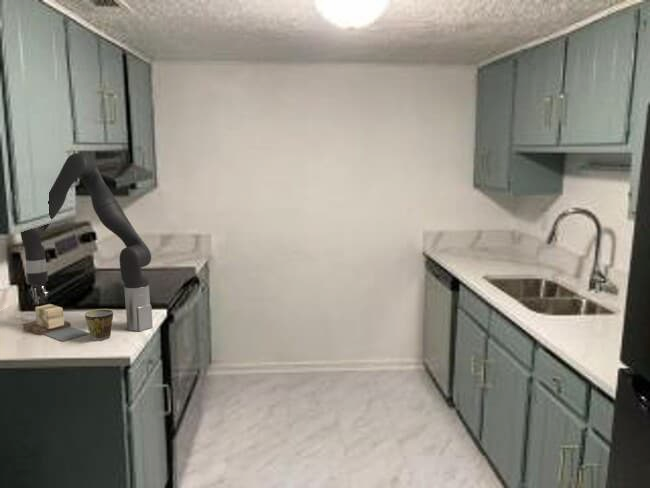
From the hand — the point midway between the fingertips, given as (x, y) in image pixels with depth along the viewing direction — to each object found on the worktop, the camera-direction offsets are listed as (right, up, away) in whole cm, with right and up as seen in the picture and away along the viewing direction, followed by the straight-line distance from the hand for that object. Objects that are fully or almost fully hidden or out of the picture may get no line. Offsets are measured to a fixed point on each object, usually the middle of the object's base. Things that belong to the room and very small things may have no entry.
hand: (40, 312), depth 223 cm
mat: (+15, -7, -10) cm, 19 cm away
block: (+6, -4, -4) cm, 8 cm away
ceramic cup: (+31, -8, -16) cm, 35 cm away
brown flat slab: (+4, -6, -2) cm, 7 cm away
